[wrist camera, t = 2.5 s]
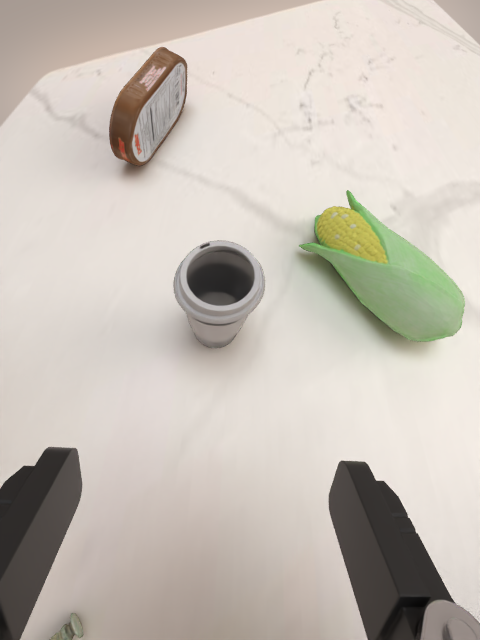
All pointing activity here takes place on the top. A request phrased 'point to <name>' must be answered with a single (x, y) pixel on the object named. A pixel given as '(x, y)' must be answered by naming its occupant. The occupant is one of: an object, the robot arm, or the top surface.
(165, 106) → the tin
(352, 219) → the corn
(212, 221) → the top surface
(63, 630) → the soupspoon
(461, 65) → the top surface
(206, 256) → the cup
